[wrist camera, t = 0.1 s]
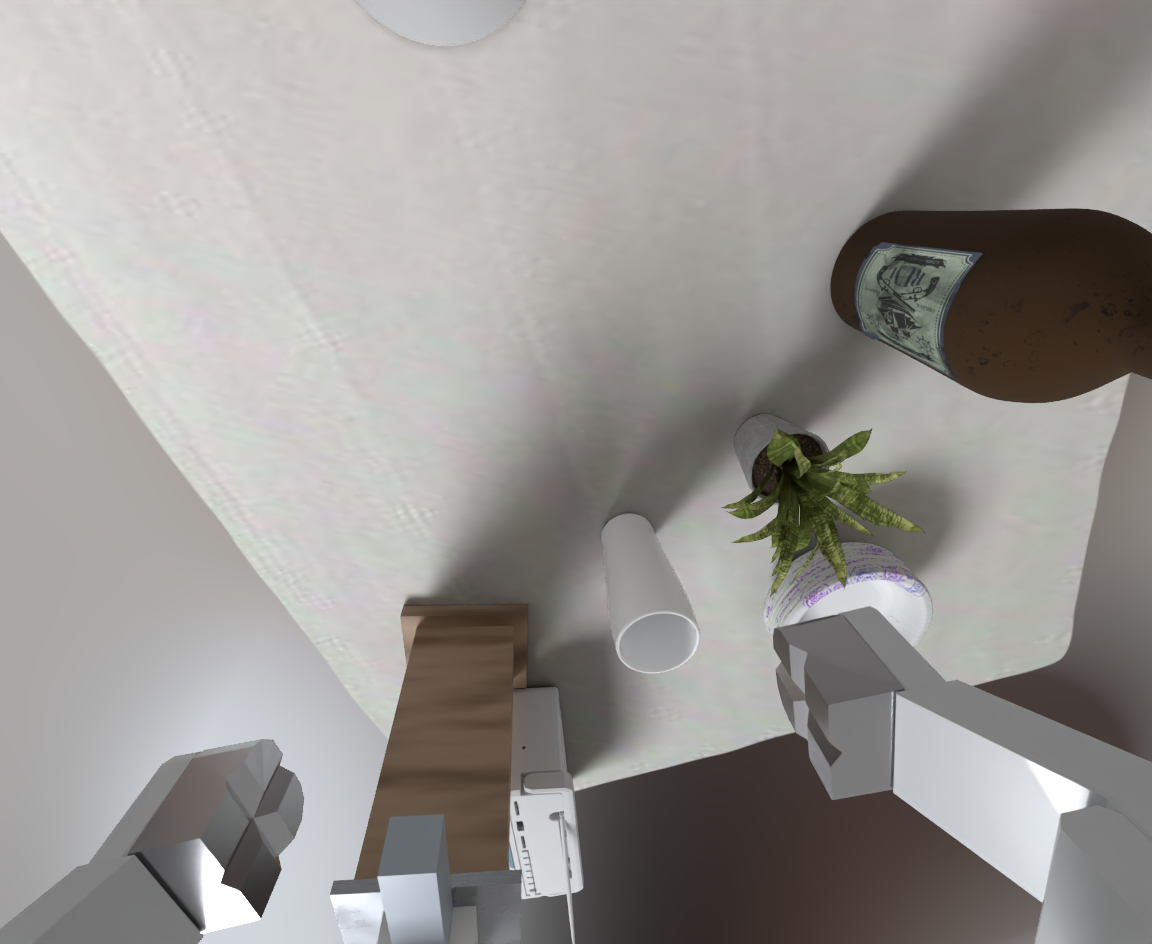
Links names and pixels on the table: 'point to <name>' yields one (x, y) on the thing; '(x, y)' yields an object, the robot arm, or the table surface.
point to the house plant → (805, 491)
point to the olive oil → (1005, 297)
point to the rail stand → (450, 764)
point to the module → (420, 886)
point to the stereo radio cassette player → (542, 800)
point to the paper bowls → (852, 591)
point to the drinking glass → (645, 599)
